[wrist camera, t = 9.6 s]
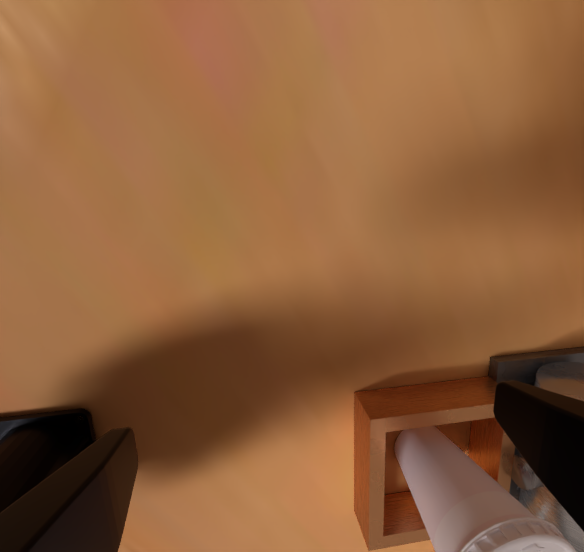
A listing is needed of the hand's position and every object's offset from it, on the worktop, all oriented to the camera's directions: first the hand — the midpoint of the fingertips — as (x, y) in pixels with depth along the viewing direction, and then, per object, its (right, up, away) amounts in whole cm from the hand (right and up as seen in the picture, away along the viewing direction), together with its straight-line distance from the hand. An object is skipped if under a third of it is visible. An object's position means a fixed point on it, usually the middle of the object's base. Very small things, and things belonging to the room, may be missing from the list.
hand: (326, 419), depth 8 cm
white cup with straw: (+8, -9, +17) cm, 21 cm away
